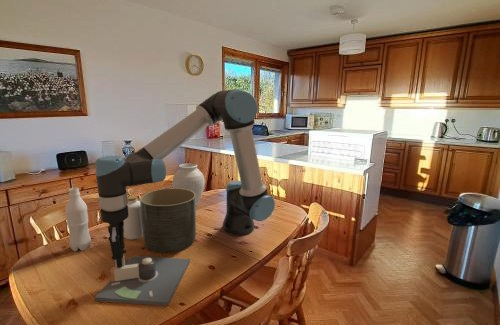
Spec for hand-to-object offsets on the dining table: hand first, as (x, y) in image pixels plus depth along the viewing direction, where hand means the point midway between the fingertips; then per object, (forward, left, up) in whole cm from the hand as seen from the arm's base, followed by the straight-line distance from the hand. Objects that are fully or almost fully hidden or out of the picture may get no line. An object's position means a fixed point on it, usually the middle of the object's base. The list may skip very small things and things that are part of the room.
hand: (121, 273), depth 85 cm
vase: (-3, -66, -3) cm, 66 cm away
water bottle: (+27, -18, -3) cm, 32 cm away
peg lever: (-4, 0, -1) cm, 4 cm away
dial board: (-8, -2, -3) cm, 9 cm away
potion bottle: (+11, -30, -3) cm, 32 cm away
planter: (-6, -28, -3) cm, 28 cm away
